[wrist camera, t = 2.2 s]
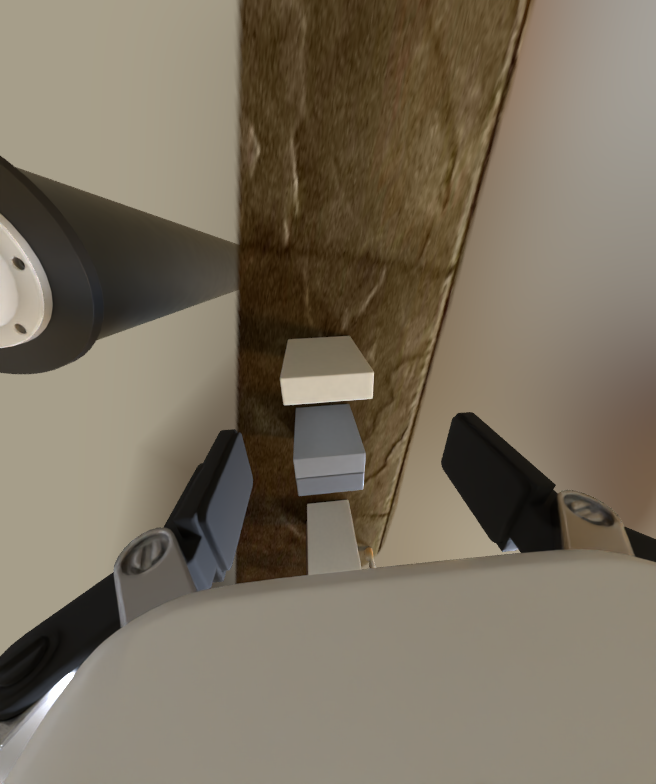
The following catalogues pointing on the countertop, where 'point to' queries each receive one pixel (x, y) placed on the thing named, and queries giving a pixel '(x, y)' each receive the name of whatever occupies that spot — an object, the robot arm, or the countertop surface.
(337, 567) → the white books
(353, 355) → the white book
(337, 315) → the countertop surface
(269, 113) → the countertop surface
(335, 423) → the grey books
